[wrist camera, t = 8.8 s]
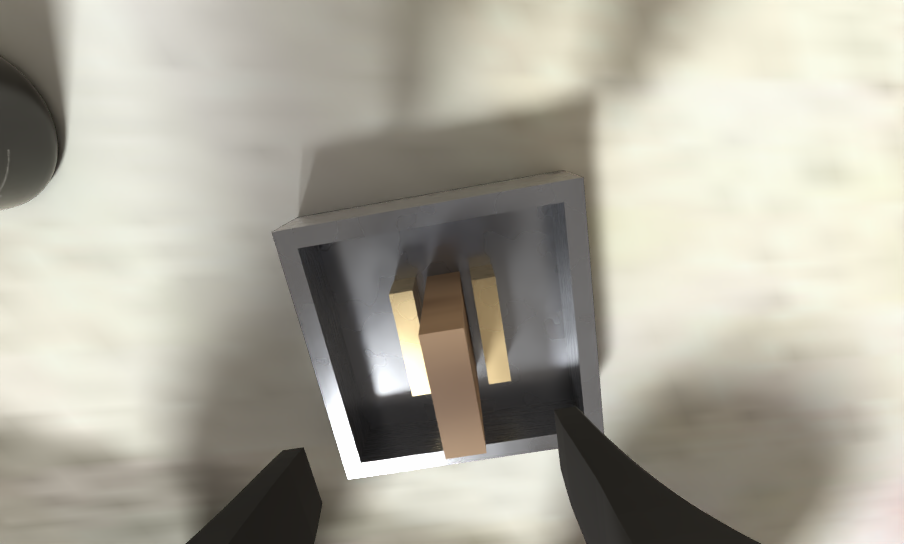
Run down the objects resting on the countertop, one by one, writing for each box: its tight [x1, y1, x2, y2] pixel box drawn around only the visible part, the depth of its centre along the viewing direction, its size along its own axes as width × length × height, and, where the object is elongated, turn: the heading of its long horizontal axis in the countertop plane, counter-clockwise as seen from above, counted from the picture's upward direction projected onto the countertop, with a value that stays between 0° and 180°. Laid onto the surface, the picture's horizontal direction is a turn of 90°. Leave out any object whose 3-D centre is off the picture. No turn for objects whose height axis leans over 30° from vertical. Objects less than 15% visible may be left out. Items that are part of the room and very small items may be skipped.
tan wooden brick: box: [418, 271, 487, 459], centre depth 18 cm, size 5×2×6 cm, turn 10°
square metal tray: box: [272, 170, 604, 479], centre depth 20 cm, size 12×12×3 cm
